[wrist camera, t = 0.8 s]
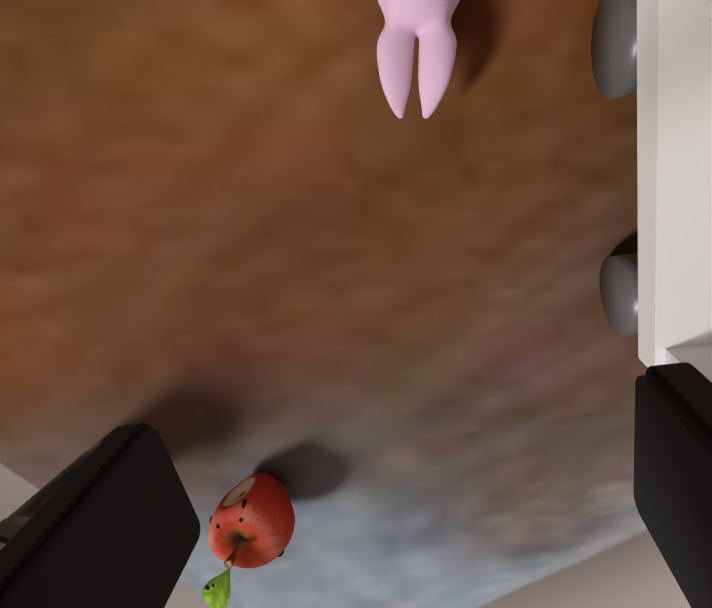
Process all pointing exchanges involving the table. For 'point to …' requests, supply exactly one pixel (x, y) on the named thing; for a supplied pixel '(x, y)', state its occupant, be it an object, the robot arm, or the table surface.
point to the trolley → (663, 175)
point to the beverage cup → (38, 500)
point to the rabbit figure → (436, 51)
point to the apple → (248, 530)
